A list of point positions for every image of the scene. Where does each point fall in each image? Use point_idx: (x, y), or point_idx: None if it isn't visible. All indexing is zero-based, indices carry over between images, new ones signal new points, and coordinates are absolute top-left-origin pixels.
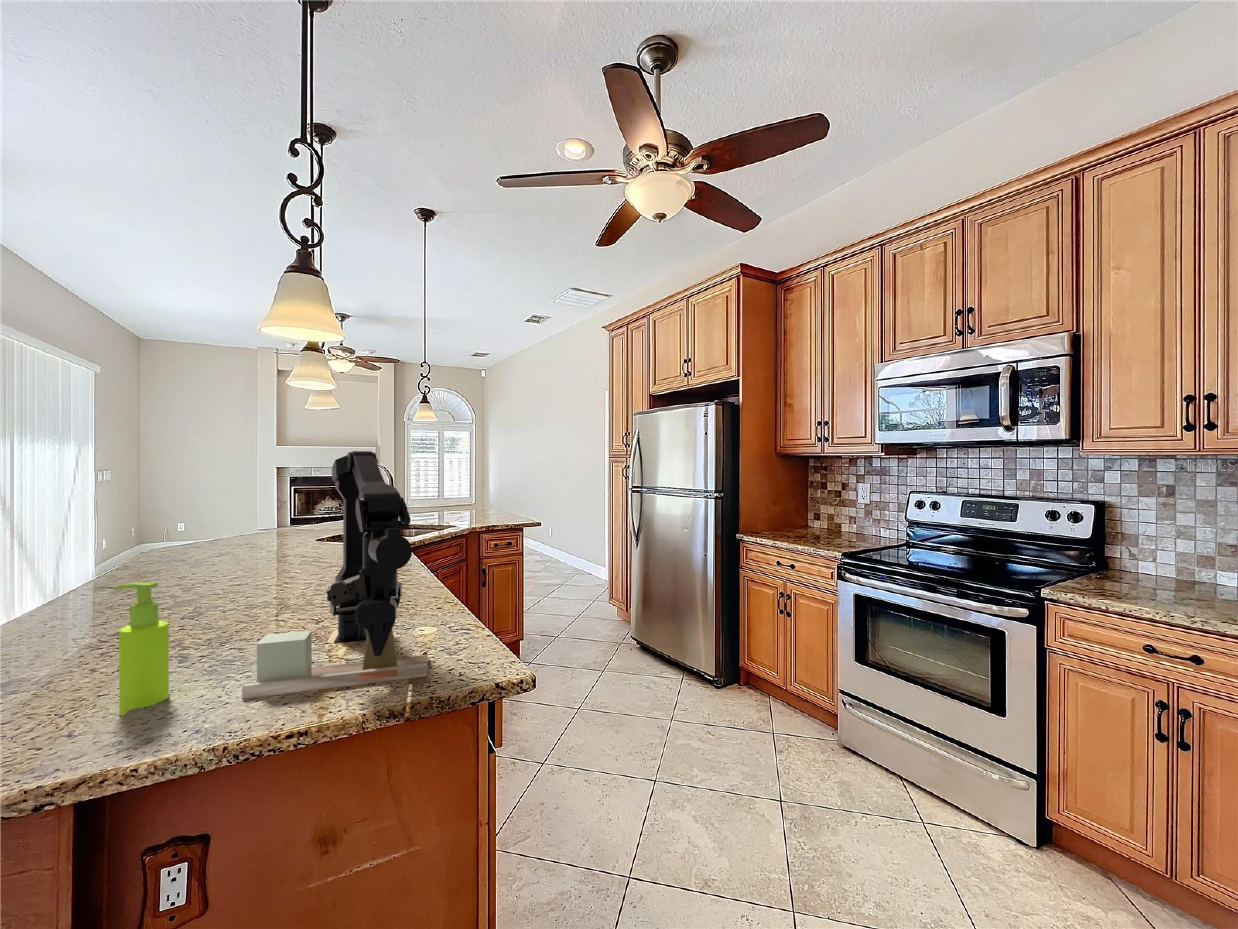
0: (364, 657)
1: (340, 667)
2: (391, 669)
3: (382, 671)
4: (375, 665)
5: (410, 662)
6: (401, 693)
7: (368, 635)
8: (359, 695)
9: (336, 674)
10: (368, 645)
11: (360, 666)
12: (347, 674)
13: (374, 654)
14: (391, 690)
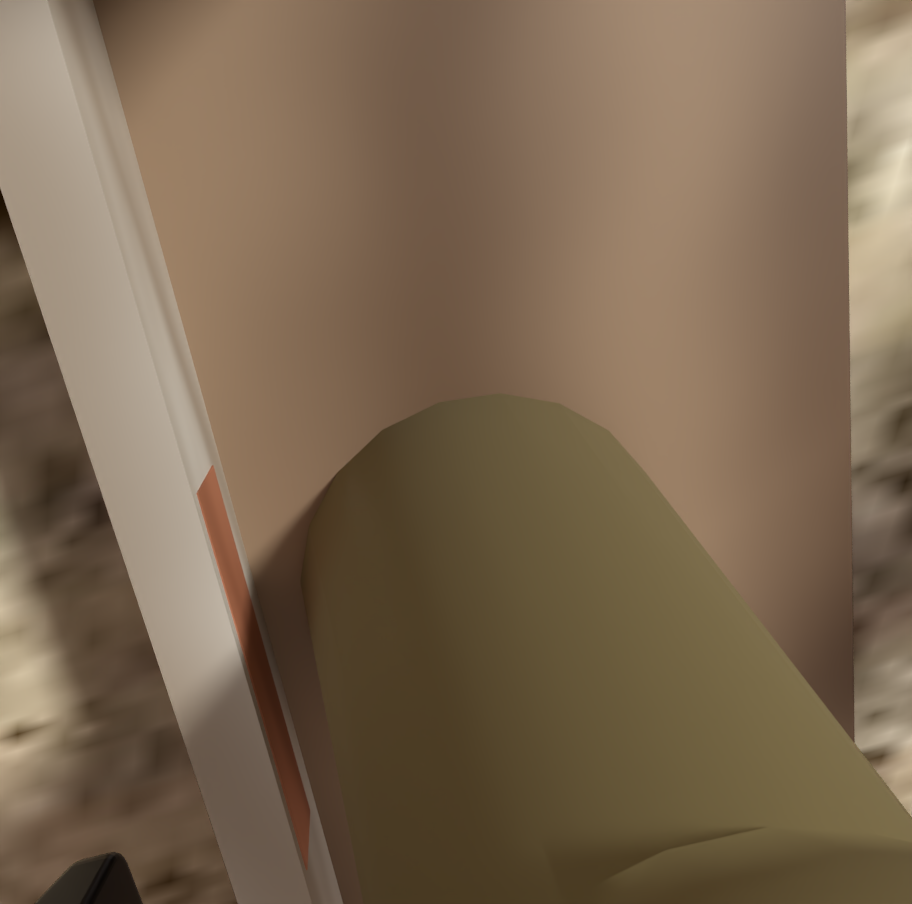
0: (449, 514)
1: (743, 46)
2: (219, 848)
3: (191, 758)
4: (316, 661)
5: None
6: (101, 833)
7: (506, 845)
8: (67, 482)
9: (49, 207)
10: (413, 711)
11: (709, 302)
12: (66, 371)
13: (56, 887)
14: (176, 733)
